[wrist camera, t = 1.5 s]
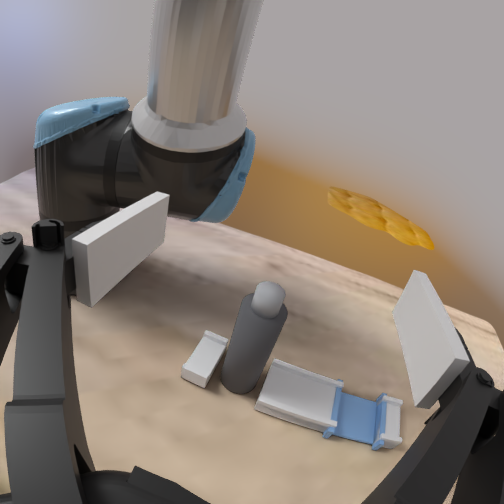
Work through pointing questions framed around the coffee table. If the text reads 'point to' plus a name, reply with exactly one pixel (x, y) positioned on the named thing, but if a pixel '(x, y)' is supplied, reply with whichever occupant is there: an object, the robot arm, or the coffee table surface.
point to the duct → (308, 398)
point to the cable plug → (254, 337)
